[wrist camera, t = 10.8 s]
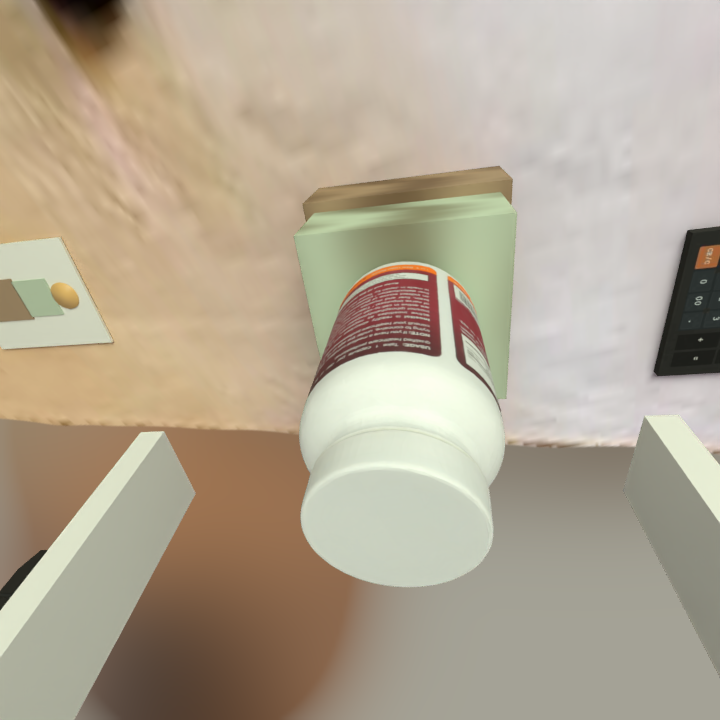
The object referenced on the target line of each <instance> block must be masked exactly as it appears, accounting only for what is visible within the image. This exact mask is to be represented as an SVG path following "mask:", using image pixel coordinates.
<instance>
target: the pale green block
mask: <svg viewBox="0 0 720 720" xmlns="http://www.w3.org/2000/svg"><path fill="white" fill-rule="evenodd" d="M512 182H513V179H512V178H511V177H510V176H509V175H508V174H507V173H506V172H505V171H504V170H503V169H502V168H501V167H500V166H496V167H488V168H480V169H472V170H464V171H455V172H447V173H439V174H431V175H423V176H415V177H407V178H399V179H391V180H383V181H375V182H367V183H359V184H351V185H343V186H335V187H327V188H319V189H318V190H317V191H316V192H315V193H314V194H313V195H312V196H310V197H309V198H308V199H307V200H306V201H305V202H304V203H303V209H304V214H305V219H306V223H305V224H304V225H303V226H302V227H301V228H300V230H299V231H298V232H297V233H296V234H295V235H294V240H295V244H296V249H297V254H298V258H299V263H300V267H301V272H302V277H303V281H304V286H305V290H306V295H307V300H308V304H309V309H310V313H311V318H312V323H313V327H314V332H315V336H316V341H317V346H318V350H319V355H320V359H322V356H323V353H324V350H325V348H326V345H327V342H328V339H329V337H330V334H331V331H332V328H333V325H334V323H335V320H336V317H337V314H338V311H339V308H340V306H341V304H342V302H343V300H344V298H345V296H346V294H347V292H348V291H349V289H350V288H351V287H352V286H353V285H354V283H355V282H356V281H357V280H359V279H360V278H361V277H362V276H363V275H365V274H366V273H368V272H370V271H371V270H373V269H375V268H377V267H380V266H383V265H385V264H390V263H395V262H420V263H425V264H429V265H432V266H435V267H437V268H439V269H441V270H443V271H445V272H447V273H448V274H450V275H451V276H452V277H454V278H455V279H456V280H457V281H458V282H459V283H460V284H461V285H462V286H463V287H464V288H465V290H466V291H467V293H468V294H469V296H470V298H471V300H472V302H473V305H474V308H475V310H476V313H477V318H478V322H479V326H480V330H481V334H482V338H483V342H484V346H485V351H486V355H487V359H488V363H489V366H490V371H491V375H492V379H493V382H494V387H495V391H496V395H497V399H506V394H507V376H508V359H509V342H510V325H511V307H512V290H513V273H514V255H515V238H516V221H517V212H516V211H515V210H514V208H513V207H512V206H511V201H512Z"/></svg>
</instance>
